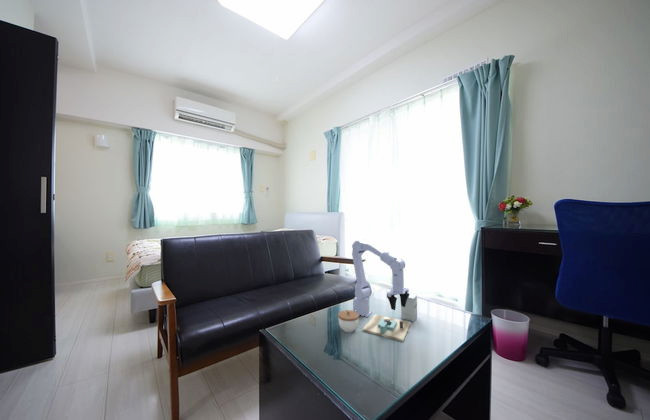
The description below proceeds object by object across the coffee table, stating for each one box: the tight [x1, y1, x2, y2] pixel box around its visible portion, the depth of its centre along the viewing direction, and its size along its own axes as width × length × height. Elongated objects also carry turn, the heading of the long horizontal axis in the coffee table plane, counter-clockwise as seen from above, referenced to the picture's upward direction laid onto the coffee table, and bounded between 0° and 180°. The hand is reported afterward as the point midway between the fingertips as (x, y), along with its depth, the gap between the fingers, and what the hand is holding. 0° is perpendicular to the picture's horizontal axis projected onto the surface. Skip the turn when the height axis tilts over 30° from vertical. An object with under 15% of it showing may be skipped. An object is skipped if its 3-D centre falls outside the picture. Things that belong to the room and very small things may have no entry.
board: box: [362, 314, 412, 342], centre depth 118 cm, size 20×20×4 cm
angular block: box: [378, 319, 397, 334], centre depth 115 cm, size 14×8×3 cm, turn 150°
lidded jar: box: [337, 309, 360, 333], centre depth 116 cm, size 11×11×9 cm
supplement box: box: [400, 293, 418, 322], centre depth 129 cm, size 7×7×13 cm
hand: (398, 307), depth 119 cm, fingers open, 7 cm apart
